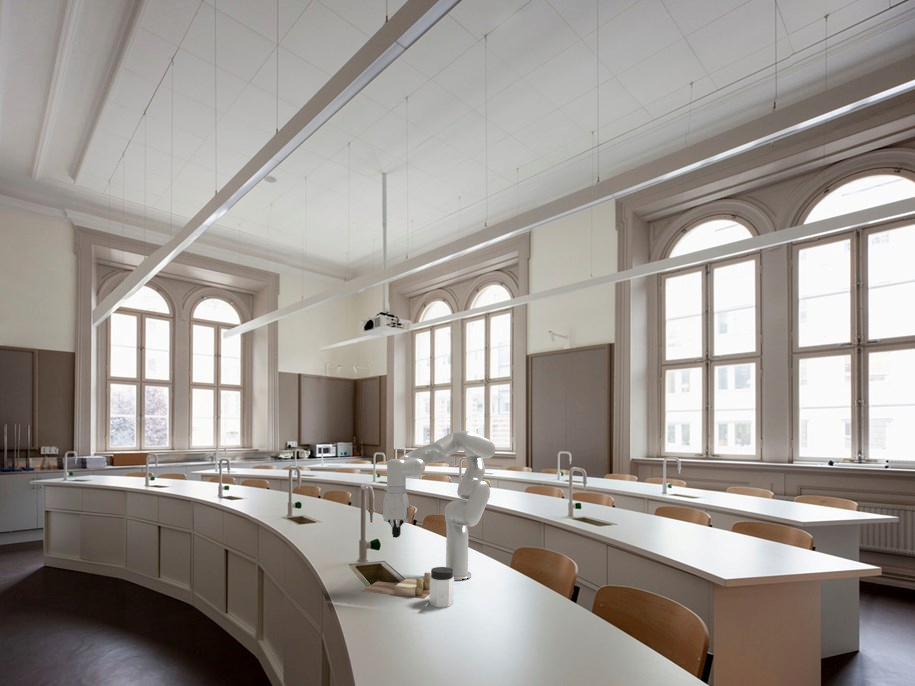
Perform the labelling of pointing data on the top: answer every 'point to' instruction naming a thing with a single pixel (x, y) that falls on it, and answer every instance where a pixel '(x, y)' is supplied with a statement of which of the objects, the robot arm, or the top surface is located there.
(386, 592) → the board
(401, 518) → the robot arm
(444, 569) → the jar
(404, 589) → the cream rectangular slab
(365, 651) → the top surface
